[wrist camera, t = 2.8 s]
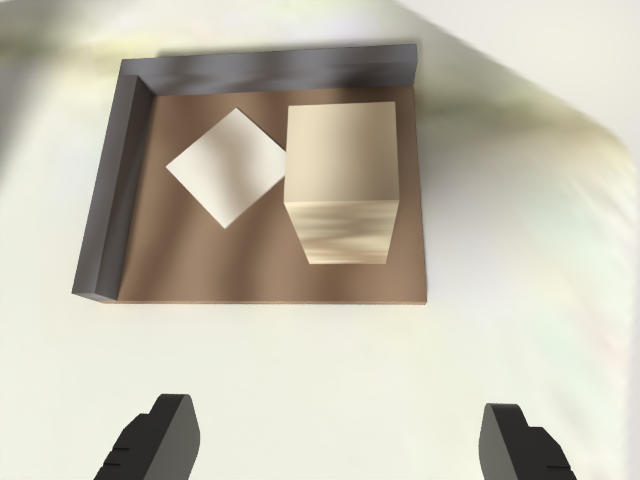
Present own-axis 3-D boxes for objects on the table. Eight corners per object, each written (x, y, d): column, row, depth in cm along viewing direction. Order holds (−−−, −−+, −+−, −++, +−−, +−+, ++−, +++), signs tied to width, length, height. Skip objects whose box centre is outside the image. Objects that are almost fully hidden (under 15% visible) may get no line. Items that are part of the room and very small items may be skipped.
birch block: (309, 264, 28) (283, 202, 18) (311, 193, 29) (288, 103, 20) (385, 263, 27) (399, 200, 18) (383, 191, 29) (394, 98, 19)
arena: (104, 303, 29) (71, 293, 26) (144, 90, 35) (122, 59, 32) (424, 304, 27) (433, 293, 24) (410, 77, 33) (416, 43, 30)
